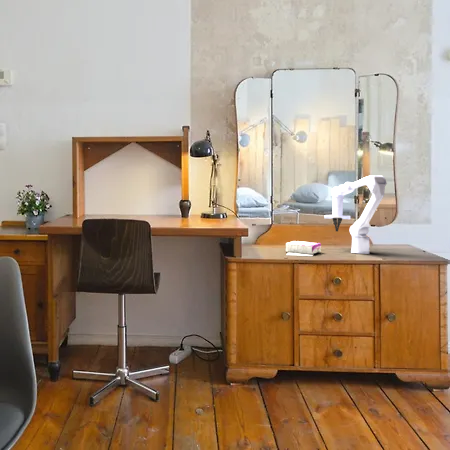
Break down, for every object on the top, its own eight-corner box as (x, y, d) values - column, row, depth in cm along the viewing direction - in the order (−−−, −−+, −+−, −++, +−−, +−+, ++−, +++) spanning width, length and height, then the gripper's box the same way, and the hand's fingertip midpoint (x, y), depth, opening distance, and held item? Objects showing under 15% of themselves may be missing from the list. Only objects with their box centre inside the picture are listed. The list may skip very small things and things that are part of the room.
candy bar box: (321, 252, 247) (294, 249, 257) (321, 243, 247) (295, 240, 257) (311, 255, 238) (285, 251, 248) (312, 245, 238) (285, 242, 248)
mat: (314, 251, 250) (314, 251, 250) (312, 256, 235) (312, 256, 235) (290, 250, 254) (290, 250, 254) (286, 255, 239) (286, 254, 239)
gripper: (350, 207, 259) (349, 230, 260) (325, 207, 263) (324, 229, 264) (350, 208, 252) (349, 232, 254) (324, 207, 256) (323, 231, 258)
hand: (336, 231), depth 259 cm, fingers closed
